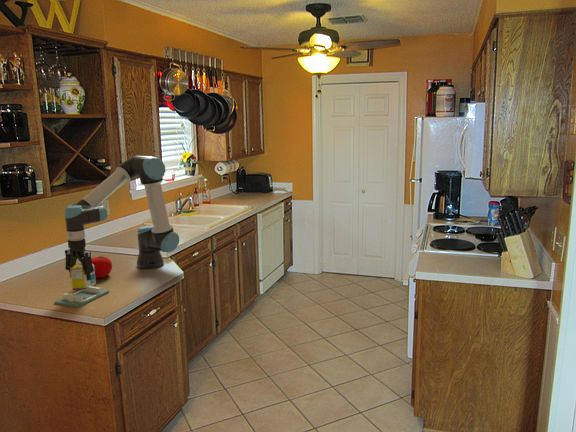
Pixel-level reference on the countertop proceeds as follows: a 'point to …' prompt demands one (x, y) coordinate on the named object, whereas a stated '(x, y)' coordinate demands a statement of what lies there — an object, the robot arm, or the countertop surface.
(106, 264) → the tomato
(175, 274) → the countertop surface
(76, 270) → the supplement box
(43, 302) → the countertop surface
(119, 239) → the countertop surface
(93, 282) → the pill bottle
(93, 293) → the board
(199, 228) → the countertop surface
